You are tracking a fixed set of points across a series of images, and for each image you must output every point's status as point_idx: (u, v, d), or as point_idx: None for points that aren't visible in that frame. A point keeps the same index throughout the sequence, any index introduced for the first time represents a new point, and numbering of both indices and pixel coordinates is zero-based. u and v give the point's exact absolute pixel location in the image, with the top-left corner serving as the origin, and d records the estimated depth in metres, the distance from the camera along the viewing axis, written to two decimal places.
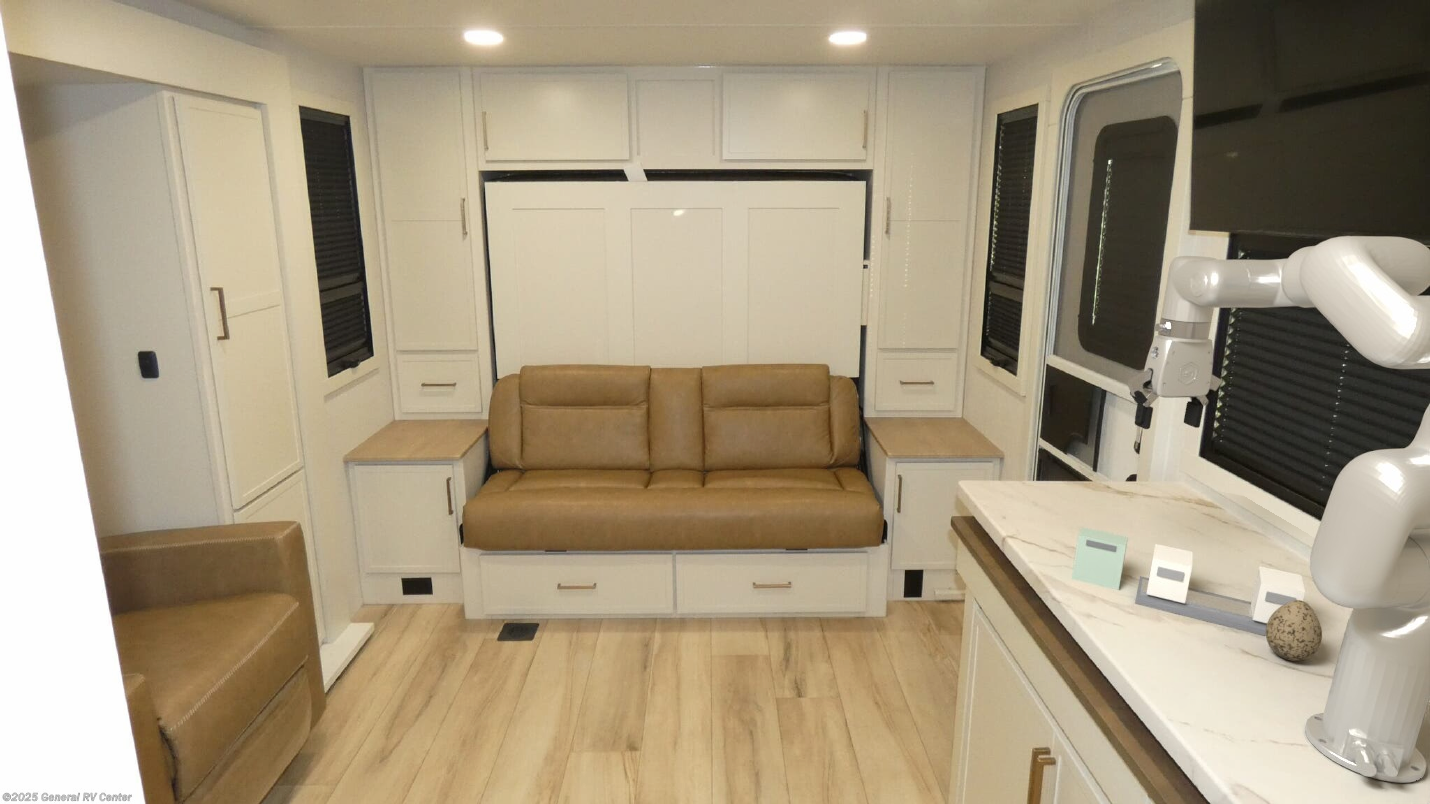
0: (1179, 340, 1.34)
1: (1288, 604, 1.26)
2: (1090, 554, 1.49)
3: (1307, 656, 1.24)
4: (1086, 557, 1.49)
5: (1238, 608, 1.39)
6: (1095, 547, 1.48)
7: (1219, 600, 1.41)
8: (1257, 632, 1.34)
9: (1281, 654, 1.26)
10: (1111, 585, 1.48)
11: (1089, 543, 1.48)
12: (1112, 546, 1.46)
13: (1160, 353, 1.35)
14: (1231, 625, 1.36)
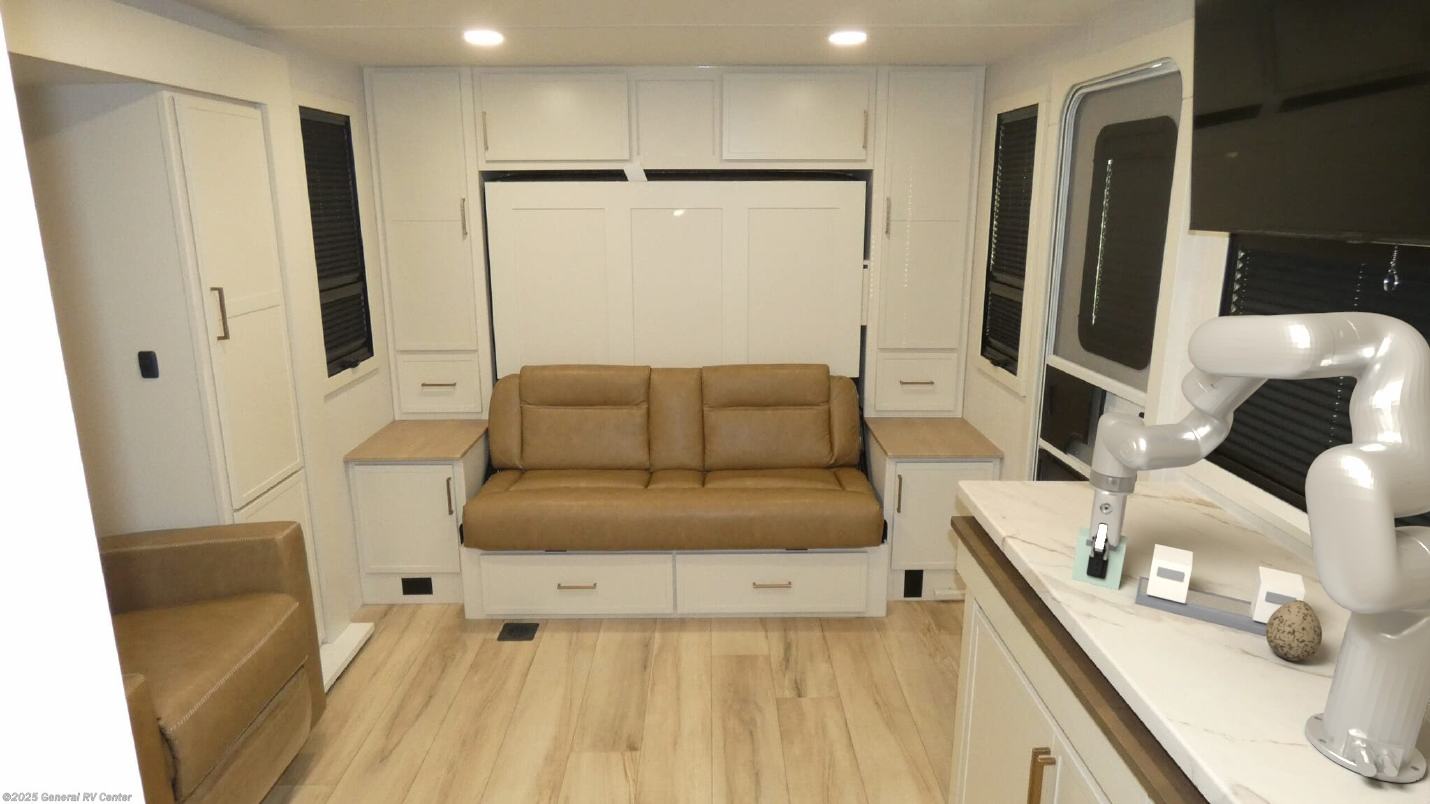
0: (1125, 494, 1.43)
1: (1288, 604, 1.25)
2: (1090, 554, 1.49)
3: (1307, 656, 1.24)
4: (1086, 556, 1.49)
5: (1238, 608, 1.39)
6: None
7: (1219, 600, 1.41)
8: (1257, 632, 1.34)
9: (1281, 654, 1.26)
10: (1111, 585, 1.48)
11: (1089, 543, 1.48)
12: (1111, 546, 1.46)
13: (1114, 509, 1.43)
14: (1231, 625, 1.36)
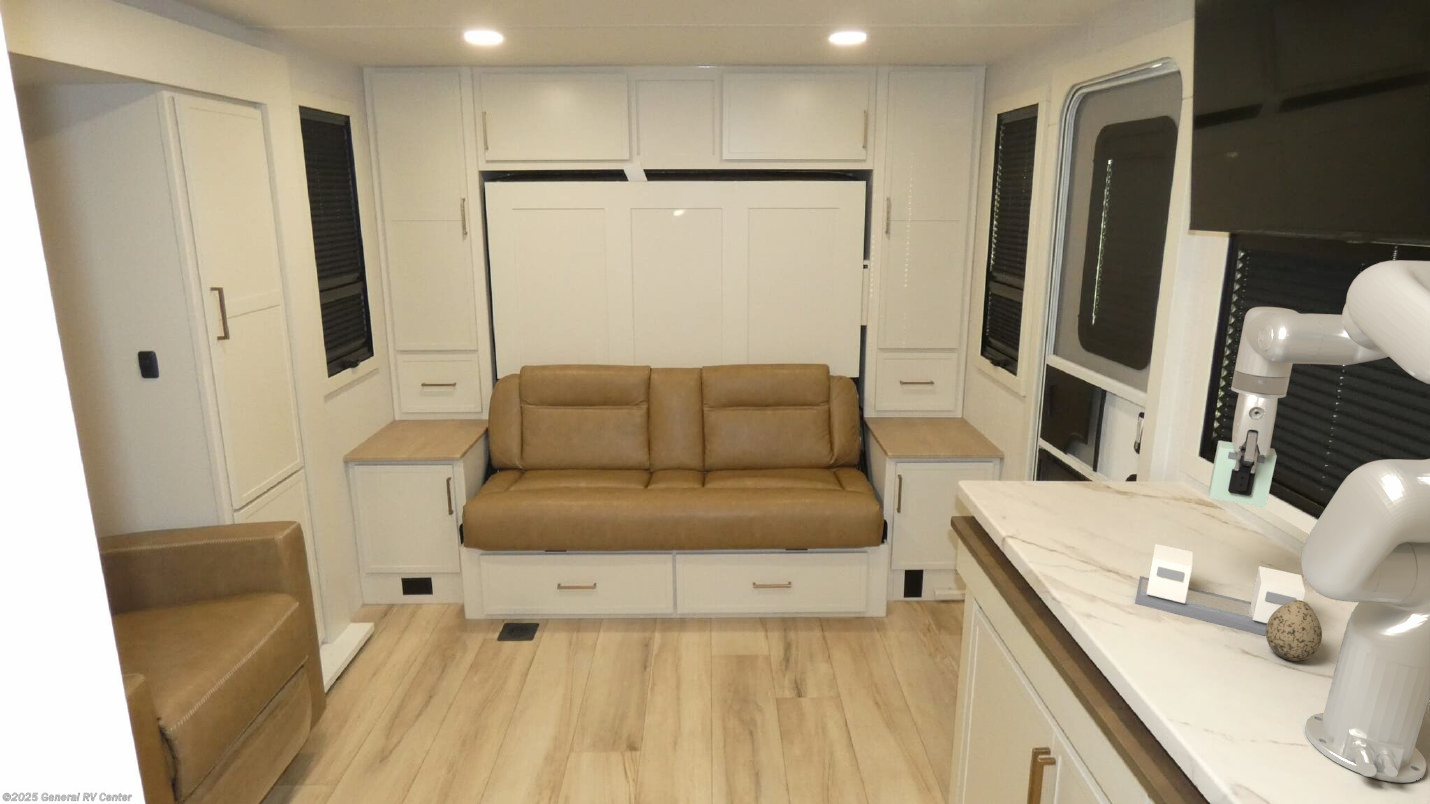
0: (1278, 397, 1.27)
1: (1288, 604, 1.26)
2: (1232, 468, 1.33)
3: (1307, 656, 1.24)
4: (1228, 471, 1.33)
5: (1238, 608, 1.39)
6: None
7: (1219, 600, 1.41)
8: (1257, 632, 1.34)
9: (1281, 654, 1.26)
10: (1257, 502, 1.32)
11: (1232, 455, 1.32)
12: (1259, 457, 1.30)
13: (1267, 413, 1.27)
14: (1231, 625, 1.36)
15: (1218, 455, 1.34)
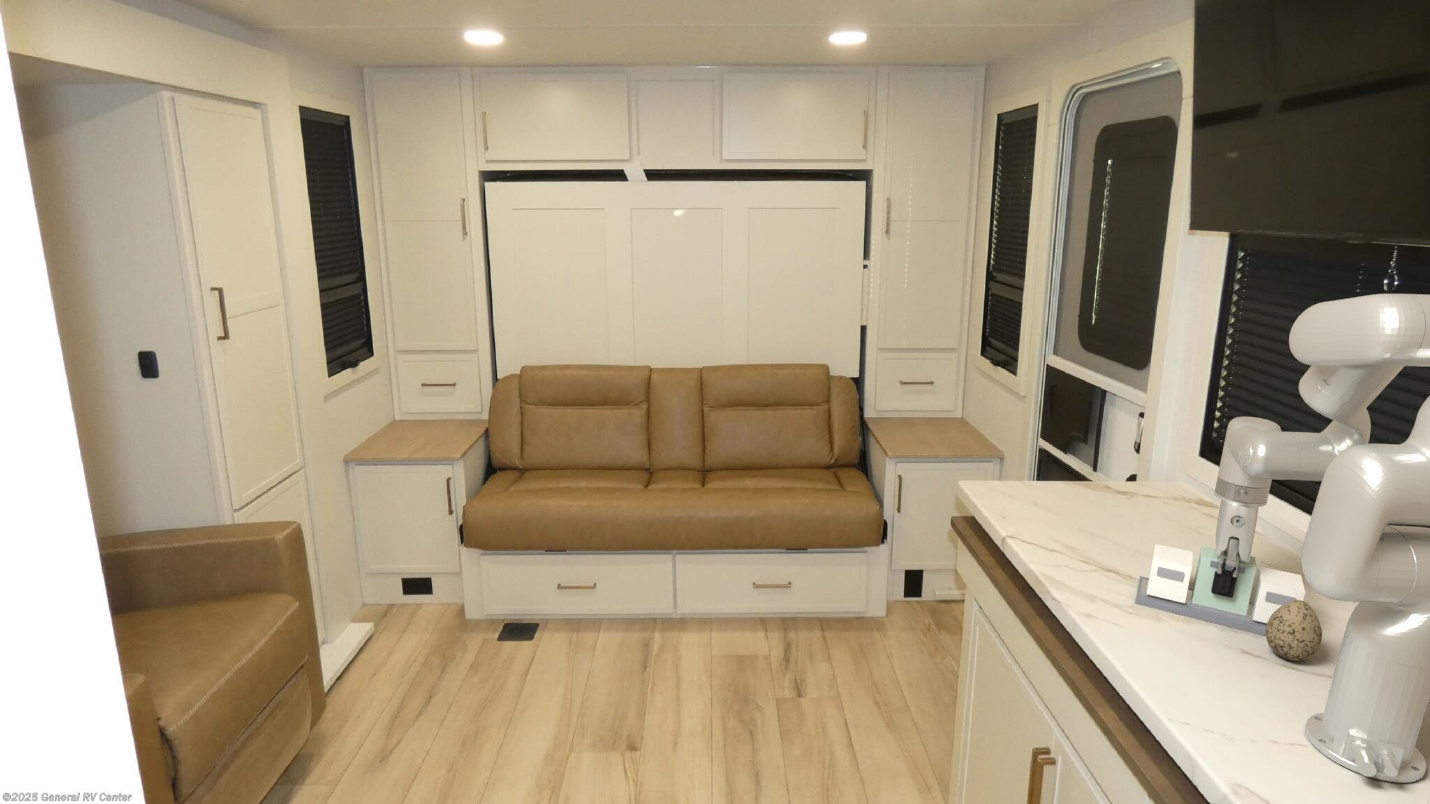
0: (1259, 505, 1.32)
1: (1288, 604, 1.25)
2: None
3: (1307, 656, 1.24)
4: (1210, 579, 1.38)
5: None
6: None
7: None
8: (1257, 632, 1.34)
9: (1281, 654, 1.26)
10: (1238, 609, 1.37)
11: (1214, 564, 1.37)
12: (1240, 568, 1.35)
13: (1247, 522, 1.31)
14: (1231, 625, 1.36)
15: (1200, 563, 1.38)
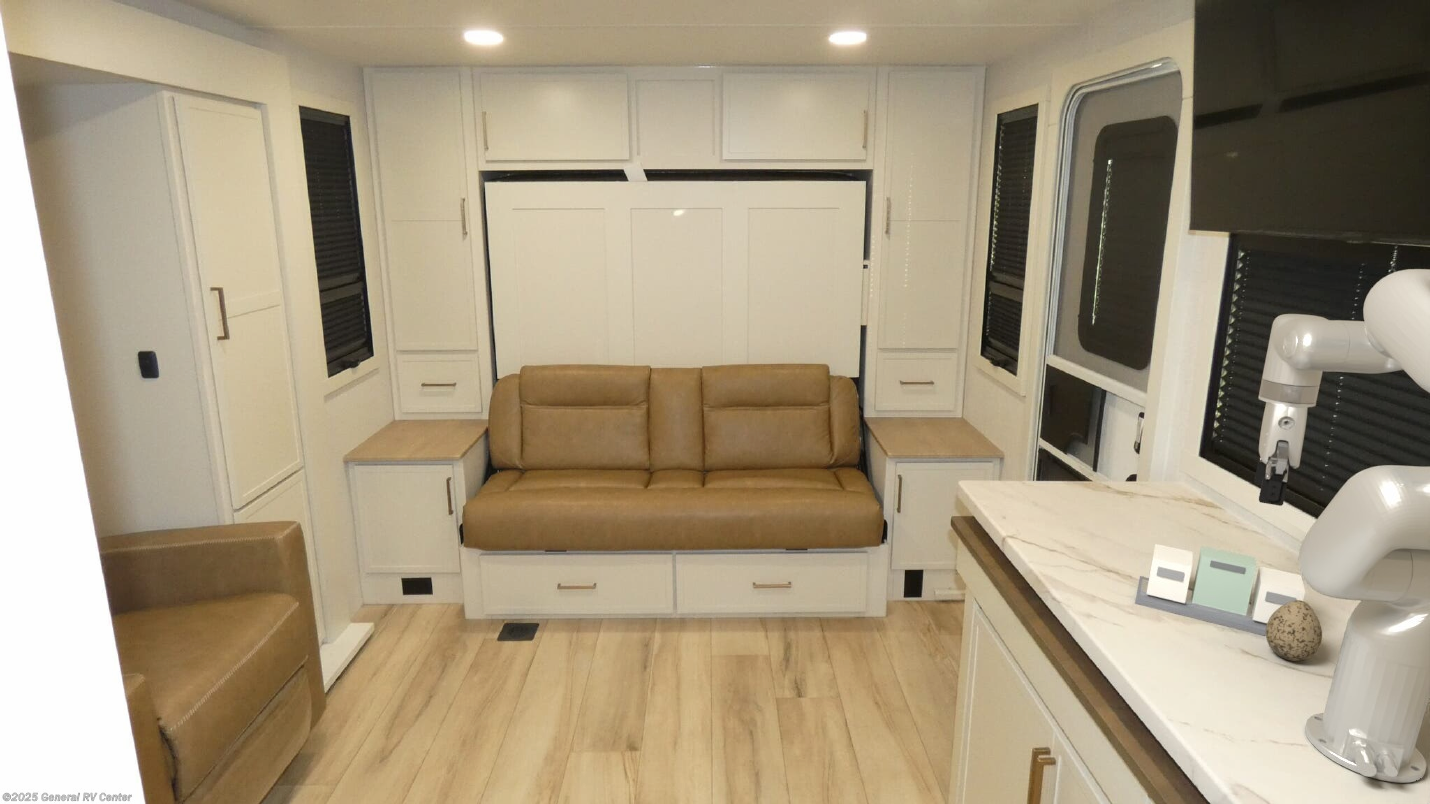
0: (1308, 406, 1.24)
1: (1288, 604, 1.25)
2: (1214, 576, 1.38)
3: (1307, 656, 1.24)
4: (1210, 579, 1.38)
5: None
6: (1220, 568, 1.37)
7: None
8: (1257, 632, 1.34)
9: (1281, 654, 1.26)
10: (1238, 609, 1.37)
11: (1214, 564, 1.37)
12: (1240, 568, 1.35)
13: (1297, 423, 1.23)
14: (1231, 625, 1.36)
15: (1200, 563, 1.38)
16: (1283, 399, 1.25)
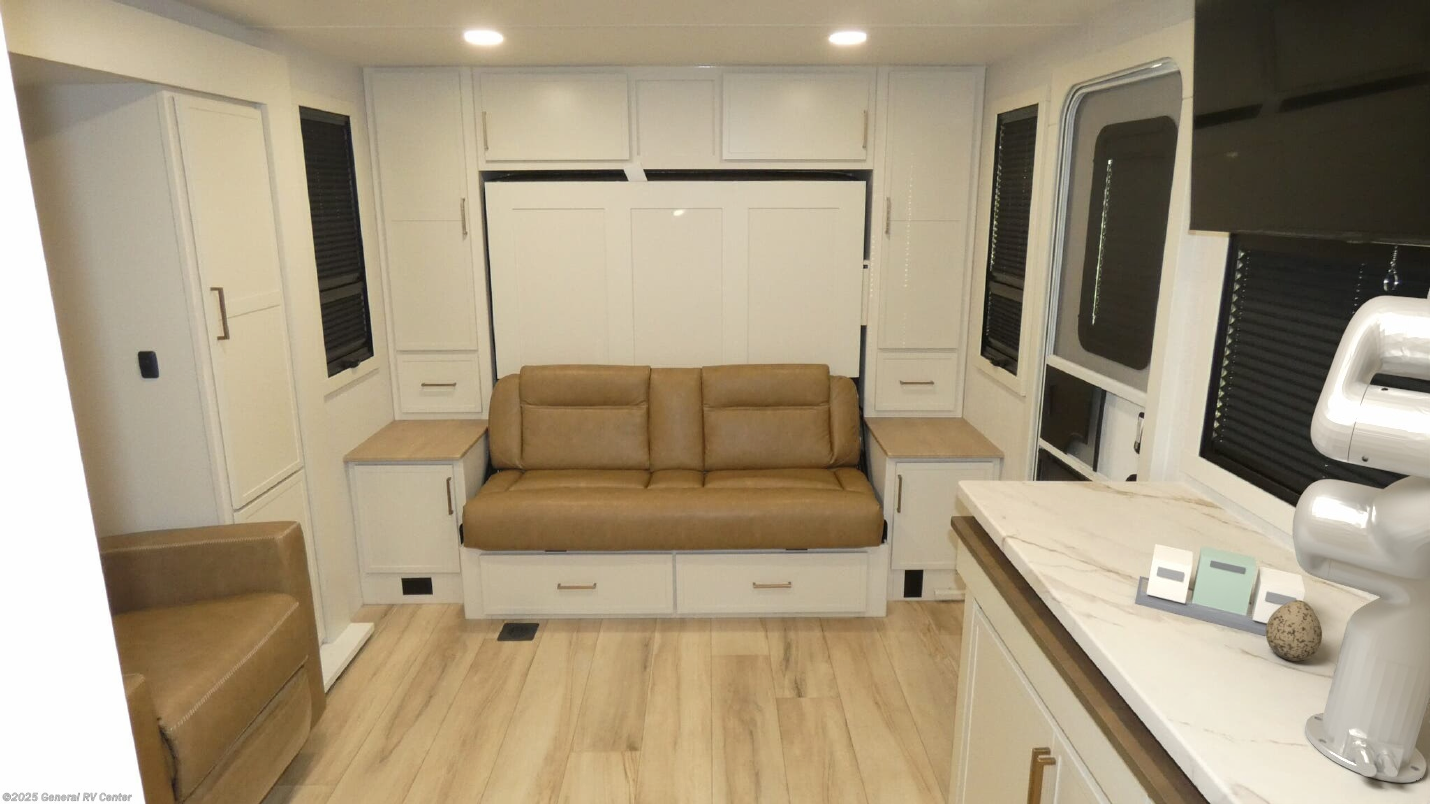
0: None
1: (1288, 604, 1.26)
2: (1214, 576, 1.38)
3: (1307, 656, 1.24)
4: (1210, 579, 1.38)
5: None
6: (1220, 568, 1.37)
7: None
8: (1257, 632, 1.34)
9: (1281, 654, 1.26)
10: (1238, 609, 1.37)
11: (1214, 564, 1.37)
12: (1240, 568, 1.35)
13: None
14: (1231, 625, 1.36)
15: (1200, 563, 1.38)
16: None
